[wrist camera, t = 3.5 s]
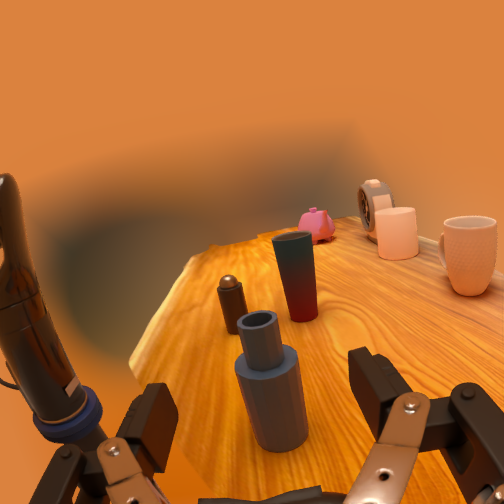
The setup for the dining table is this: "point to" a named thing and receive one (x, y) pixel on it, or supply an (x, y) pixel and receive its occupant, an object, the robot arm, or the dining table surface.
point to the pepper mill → (232, 302)
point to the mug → (469, 252)
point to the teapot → (317, 225)
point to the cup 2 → (396, 233)
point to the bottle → (271, 383)
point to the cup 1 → (297, 273)
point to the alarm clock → (373, 204)
